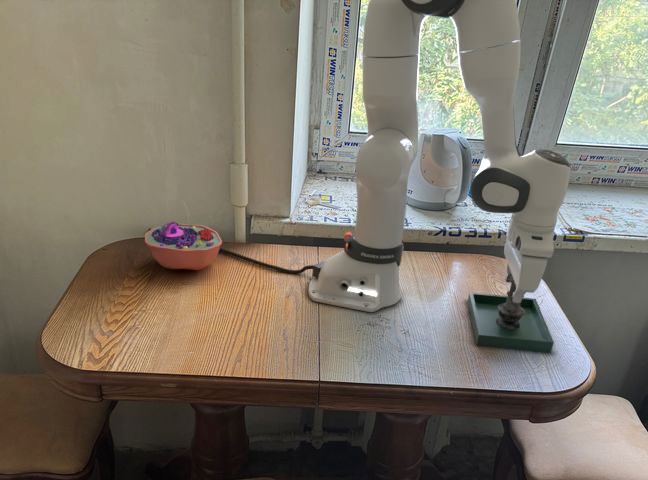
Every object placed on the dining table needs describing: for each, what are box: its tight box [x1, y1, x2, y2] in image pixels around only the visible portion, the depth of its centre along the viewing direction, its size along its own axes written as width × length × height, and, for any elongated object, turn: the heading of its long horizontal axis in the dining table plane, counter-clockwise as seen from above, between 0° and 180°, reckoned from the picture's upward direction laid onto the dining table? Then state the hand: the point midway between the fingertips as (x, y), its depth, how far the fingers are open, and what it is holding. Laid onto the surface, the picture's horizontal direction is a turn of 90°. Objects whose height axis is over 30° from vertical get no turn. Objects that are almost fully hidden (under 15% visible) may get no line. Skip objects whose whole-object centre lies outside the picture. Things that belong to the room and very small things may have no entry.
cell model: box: [144, 221, 223, 271], centre depth 151 cm, size 17×20×11 cm
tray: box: [466, 292, 555, 353], centre depth 135 cm, size 16×20×3 cm
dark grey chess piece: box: [496, 280, 525, 329], centre depth 133 cm, size 6×6×12 cm
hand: (512, 290), depth 132 cm, fingers open, 8 cm apart
